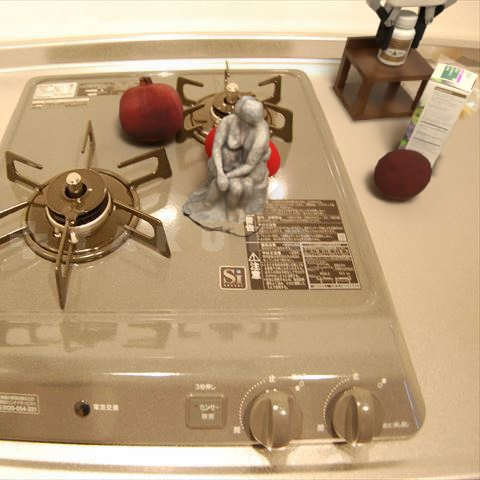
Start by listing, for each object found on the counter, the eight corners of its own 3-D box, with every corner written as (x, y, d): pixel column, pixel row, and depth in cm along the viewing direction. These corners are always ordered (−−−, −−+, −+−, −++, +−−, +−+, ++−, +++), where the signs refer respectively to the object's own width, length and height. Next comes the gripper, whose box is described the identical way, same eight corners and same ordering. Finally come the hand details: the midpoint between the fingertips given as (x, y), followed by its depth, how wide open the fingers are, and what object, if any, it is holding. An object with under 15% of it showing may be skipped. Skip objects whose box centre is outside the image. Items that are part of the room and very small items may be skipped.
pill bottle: (377, 64, 90) (392, 18, 84) (376, 51, 92) (391, 6, 87) (405, 68, 89) (422, 22, 83) (403, 55, 92) (420, 9, 86)
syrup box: (401, 143, 89) (436, 60, 78) (438, 155, 87) (480, 72, 76) (391, 162, 85) (427, 78, 75) (430, 175, 83) (472, 91, 73)
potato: (430, 198, 80) (450, 160, 74) (392, 216, 77) (410, 178, 72) (393, 170, 84) (409, 132, 79) (355, 185, 81) (370, 147, 76)
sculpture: (182, 80, 67) (269, 71, 70) (170, 194, 79) (244, 182, 82) (217, 130, 59) (312, 117, 63) (198, 247, 72) (278, 231, 75)
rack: (395, 84, 101) (414, 33, 93) (420, 116, 94) (443, 63, 87) (332, 88, 99) (347, 36, 92) (353, 120, 93) (371, 67, 85)
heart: (210, 98, 77) (214, 139, 86) (194, 128, 76) (199, 167, 85) (289, 123, 74) (285, 163, 83) (274, 155, 72) (271, 192, 81)
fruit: (110, 148, 88) (98, 84, 84) (155, 132, 94) (145, 72, 90) (156, 152, 80) (144, 82, 76) (201, 134, 86) (192, 69, 82)
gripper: (482, -90, 79) (433, 32, 92) (371, -87, 77) (337, 36, 90) (512, -71, 74) (455, 54, 87) (394, -68, 72) (354, 60, 85)
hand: (396, 44), depth 89 cm, fingers closed on pill bottle, 4 cm apart
